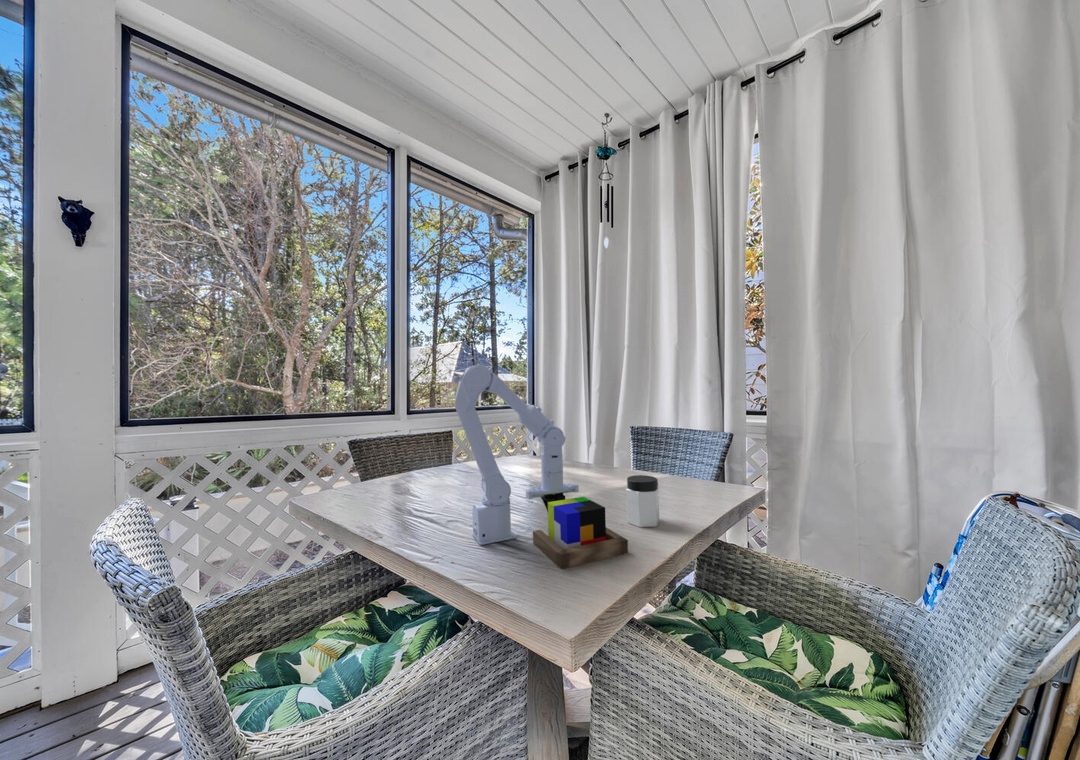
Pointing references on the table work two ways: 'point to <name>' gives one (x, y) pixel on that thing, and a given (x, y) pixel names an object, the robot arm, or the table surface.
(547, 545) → the walnut frame
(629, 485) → the jar
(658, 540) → the table surface
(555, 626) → the table surface
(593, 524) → the puzzle toy
